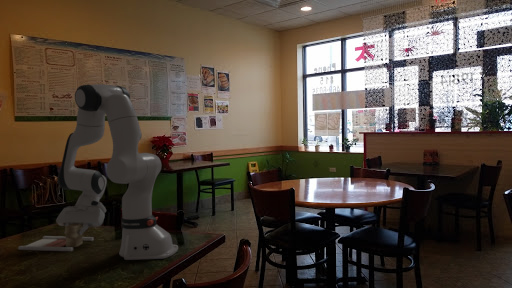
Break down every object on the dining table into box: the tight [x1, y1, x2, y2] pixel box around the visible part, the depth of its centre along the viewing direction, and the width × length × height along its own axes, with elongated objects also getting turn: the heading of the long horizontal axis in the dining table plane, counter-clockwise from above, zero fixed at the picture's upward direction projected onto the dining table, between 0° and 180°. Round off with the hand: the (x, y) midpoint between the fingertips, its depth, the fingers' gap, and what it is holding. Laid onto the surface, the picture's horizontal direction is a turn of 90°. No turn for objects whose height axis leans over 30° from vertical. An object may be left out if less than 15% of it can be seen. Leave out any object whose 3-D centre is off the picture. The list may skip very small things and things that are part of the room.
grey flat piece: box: [17, 235, 95, 252], centre depth 154 cm, size 24×15×1 cm, turn 82°
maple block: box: [64, 224, 84, 248], centre depth 153 cm, size 4×4×8 cm
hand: (73, 234), depth 153 cm, fingers closed on maple block, 4 cm apart
